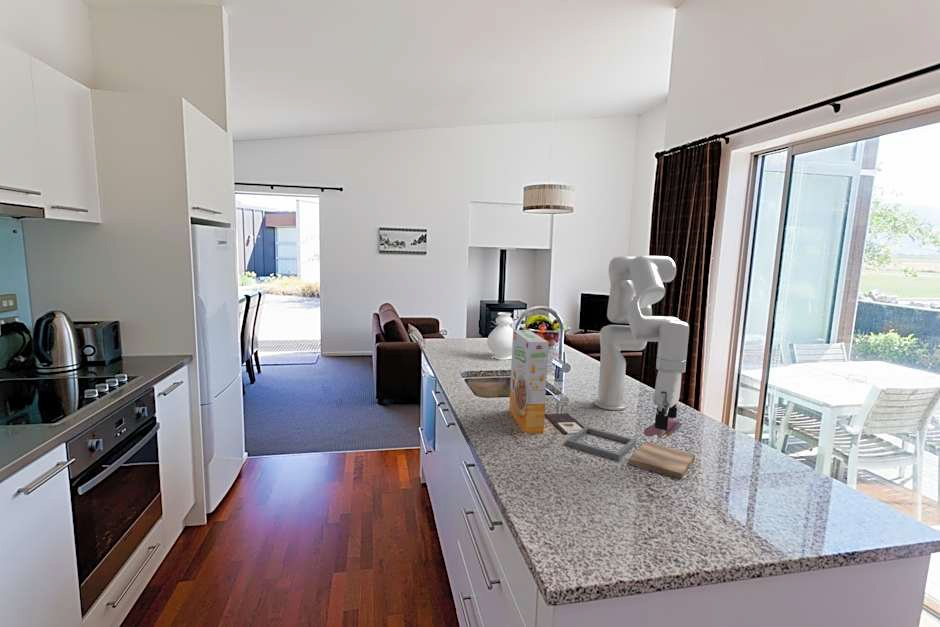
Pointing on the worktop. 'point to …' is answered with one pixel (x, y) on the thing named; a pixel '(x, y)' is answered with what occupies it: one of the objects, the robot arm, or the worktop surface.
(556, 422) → the chocolate bar
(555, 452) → the worktop surface
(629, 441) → the frame
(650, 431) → the video game controller
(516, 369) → the cereal box
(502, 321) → the decorative vase
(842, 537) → the worktop surface
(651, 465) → the walnut board
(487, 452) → the worktop surface
